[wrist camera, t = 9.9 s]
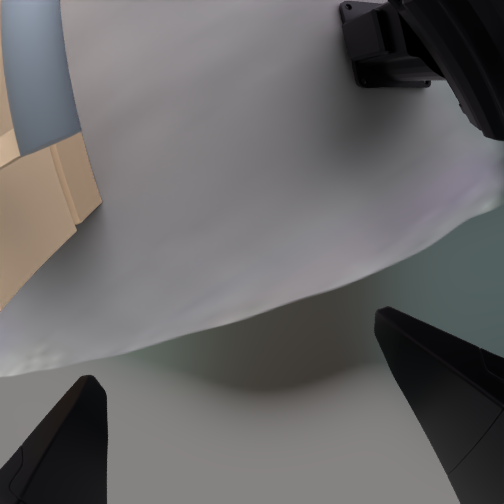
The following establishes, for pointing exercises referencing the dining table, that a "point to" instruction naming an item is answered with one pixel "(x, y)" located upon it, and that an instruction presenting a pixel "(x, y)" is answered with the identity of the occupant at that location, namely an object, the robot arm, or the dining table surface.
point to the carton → (76, 177)
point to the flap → (32, 139)
